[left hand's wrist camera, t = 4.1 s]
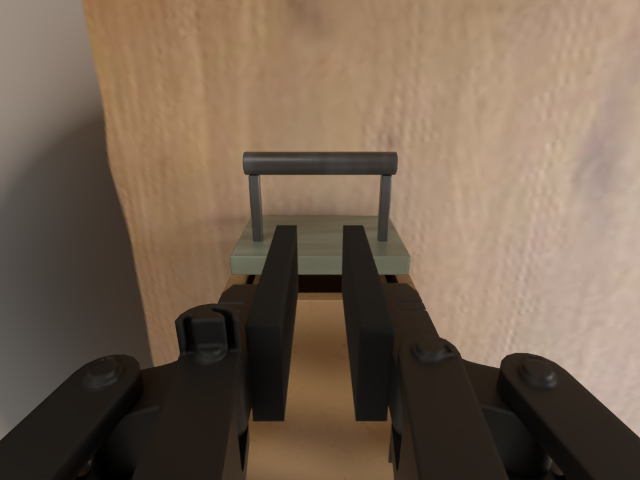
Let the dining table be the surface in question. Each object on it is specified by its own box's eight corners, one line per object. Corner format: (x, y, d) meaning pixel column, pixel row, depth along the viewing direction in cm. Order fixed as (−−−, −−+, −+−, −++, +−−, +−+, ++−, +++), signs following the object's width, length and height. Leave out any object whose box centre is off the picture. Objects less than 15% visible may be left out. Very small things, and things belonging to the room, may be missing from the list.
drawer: (246, 141, 27) (220, 159, 20) (394, 141, 27) (420, 159, 20) (264, 401, 35) (250, 478, 28) (376, 401, 35) (390, 478, 28)
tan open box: (248, 239, 30) (218, 300, 22) (392, 239, 30) (421, 300, 22) (261, 421, 38) (243, 524, 29) (378, 421, 38) (397, 524, 29)
